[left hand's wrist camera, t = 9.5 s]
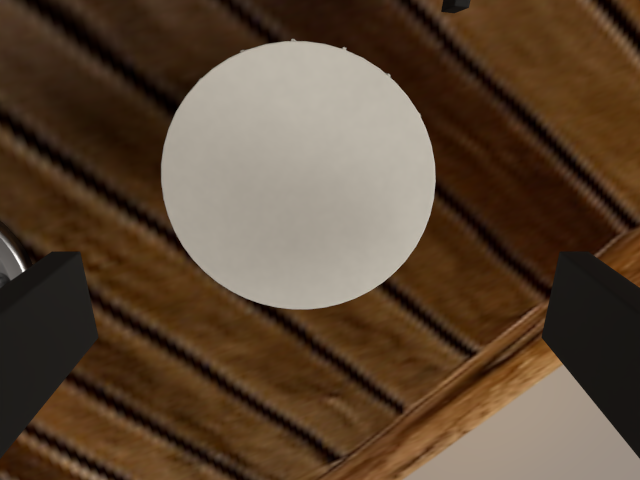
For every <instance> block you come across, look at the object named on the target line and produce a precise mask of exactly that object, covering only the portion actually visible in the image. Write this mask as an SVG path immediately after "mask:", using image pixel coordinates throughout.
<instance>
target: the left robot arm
mask: <svg viewBox="0 0 640 480" xmlns="http://www.w3.org/2000/svg"><path fill="white" fill-rule="evenodd" d="M97 339H98V333H97V328H96V324H95V319H94V314H93V310H92V305H91V300H90V296H89V291H88V286H87V282H86V277H85V272H84V268H83V263H82V258H81V253H80V252H51V253H50V254H48V255H47V256H45V257H44V258H42V259H41V260H40V261H38V262H37V263H35V264H34V265H33V264H32V262H31V260H30V258H29V256H28V254H27V252H26V251H25V249H24V247H23V246H22V244H21V243H20V242H19V240H18V239H17V238H16V237H15V235H14V234H13V233H12V232H11V231H10V230H9V229H8V228H7V227H6V226H5V225H4V224H3V223H2V222H1V221H0V458H1V457H2V456H3V455H4V453H5V452H6V451H7V450H8V448H9V447H10V446H11V445H12V443H13V442H14V441H15V440H16V438H17V437H18V436H19V435H20V434H21V432H22V431H23V430H24V429H25V427H26V426H27V425H28V424H29V422H30V421H31V420H32V419H33V418H34V416H35V415H36V414H37V413H38V411H39V410H40V409H41V408H42V406H43V405H44V404H45V403H46V401H47V400H48V399H49V398H50V397H51V395H52V394H53V393H54V392H55V390H56V389H57V388H58V387H59V385H60V384H61V383H62V382H63V380H64V379H65V378H66V377H67V376H68V374H69V373H70V372H71V371H72V369H73V368H74V367H75V366H76V364H77V363H78V362H79V361H80V360H81V358H82V357H83V356H84V355H85V353H86V352H87V351H88V350H89V348H90V347H91V346H92V345H93V343H94V342H95V341H96V340H97ZM542 339H543V340H544V341H545V342H546V343H547V345H548V346H549V347H550V348H551V350H552V351H553V352H554V353H555V355H556V356H557V357H558V358H559V360H560V361H561V362H562V363H563V364H564V366H565V367H566V368H567V369H568V371H569V372H570V373H571V374H572V376H573V377H574V378H575V379H576V380H577V382H578V383H579V384H580V385H581V387H582V388H583V389H584V390H585V392H586V393H587V394H588V395H589V396H590V398H591V399H592V400H593V401H594V403H595V404H596V405H597V406H598V408H599V409H600V410H601V411H602V412H603V414H604V415H605V416H606V418H607V419H608V420H609V421H610V422H611V424H612V425H613V426H614V427H615V429H616V430H617V431H618V432H619V434H620V435H621V436H622V437H623V438H624V440H625V441H626V442H627V443H628V445H629V446H630V447H631V448H632V450H633V451H634V452H635V453H636V455H637V456H638V457H639V458H640V288H639V287H638V286H636V285H635V284H633V283H632V282H630V281H629V280H628V279H626V278H625V277H623V276H622V275H620V274H619V273H618V272H616V271H615V270H613V269H612V268H610V267H609V266H608V265H606V264H605V263H603V262H602V261H600V260H599V259H598V258H596V257H595V256H593V255H592V254H590V253H589V252H560V253H559V258H558V263H557V268H556V272H555V277H554V282H553V286H552V291H551V296H550V300H549V305H548V310H547V314H546V319H545V324H544V328H543V333H542Z"/></svg>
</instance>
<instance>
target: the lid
mask: <svg viewBox="0 0 640 480" xmlns="http://www.w3.org/2000/svg"><path fill="white" fill-rule="evenodd" d="M240 52H241V53H239V54H237V55H235V56H232V57H230V58H228V59H227V60H225V61H224V62H222V63H221V64H219V65H218V66H216V67H214V68H213V69H212V70H211V71H209V72H208V73H207V74H206V75H205V76H204V77H203V78H200V79H199V81H198V82H197V83H196V85H195V86H194V87H193V88H192V89H191V91H190V92H189V93H188V94H187V95H186V97H185V98H184V100H183V101H182V103H181V105H180V106H179V108H178V109H177V111H176V113H175V115H174V118H173V120H172V122H171V124H170V127H169V129H168V133H167V136H166V140H165V143H164V148H163V155H162V162H161V183H162V191H163V198H164V202H165V206H166V210H167V213H168V216H169V219H170V221H171V224H172V226H173V229H174V231H175V233H176V235H177V236H178V238H179V240H180V242H181V243H182V245H183V247H184V248H185V249H186V251H187V252H188V253H189V255H190V256H191V257H192V259H193V260H194V261H195V262H196V263H197V264H198V265H199V266H200V267H201V268H202V269H203V270H204V272H206V273H207V274H208V275H209V276H210V277H212V278H213V279H214V280H215V281H217V282H218V283H219V284H221V285H223V286H224V287H226V288H227V289H229V290H230V291H232V292H234V293H236V294H238V295H240V296H242V297H244V298H246V299H249V300H252V301H255V302H258V303H260V304H265V305H269V306H273V307H278V308H287V309H314V308H323V307H328V306H332V305H337V304H341V303H343V302H346V301H349V300H352V299H355V298H357V297H359V296H361V295H363V294H365V293H367V292H369V291H370V290H372V289H373V288H375V287H376V286H378V285H380V284H381V283H383V282H384V281H385V280H386V279H387V278H388V277H390V276H391V275H392V274H393V273H394V272H395V271H396V270H397V269H398V268H399V267H400V266H401V265H402V264H403V263H404V262H405V261H406V259H407V258H408V257H409V255H410V254H411V252H412V251H413V250H414V248H415V247H416V245H417V243H418V241H419V239H420V238H421V236H422V234H423V232H424V230H425V227H426V224H427V222H428V219H429V216H430V213H431V208H432V204H433V200H434V190H435V163H434V157H433V151H432V146H431V143H430V140H429V136H428V133H427V130H426V128H425V125H424V123H423V121H422V119H421V117H420V116H421V115H420V113H418V111H417V110H416V108H415V107H414V105H413V104H412V102H411V101H410V99H409V98H408V96H407V95H406V94H405V93H404V91H403V90H402V89H401V88H400V87H399V86H398V85H397V84H396V82H395V81H394V80H392V79H391V78H390V76H391V75H389V74H387V73H384V72H383V71H382V70H381V69H379V68H378V67H376V66H375V65H373V64H372V63H370V62H368V61H367V60H365V59H364V58H362V57H360V56H357V55H355V54H353V53H351V52H348V51H346V48H344V47H343V48H342V49H340V48H337V47H333V46H330V45H327V44H321V43H314V42H307V41H296V40H295V39H291V41H284V42H278V43H271V44H265V45H261V46H258V47H255V48H251V49H248V50H241V51H240Z"/></svg>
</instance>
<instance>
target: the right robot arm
mask: <svg viewBox="0 0 640 480" xmlns="http://www.w3.org/2000/svg"><path fill="white" fill-rule="evenodd" d="M469 4H470V0H443V5H442V11H441V12H448V13H456V12H459V11H461V10H464V9H467V8H469Z"/></svg>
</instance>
